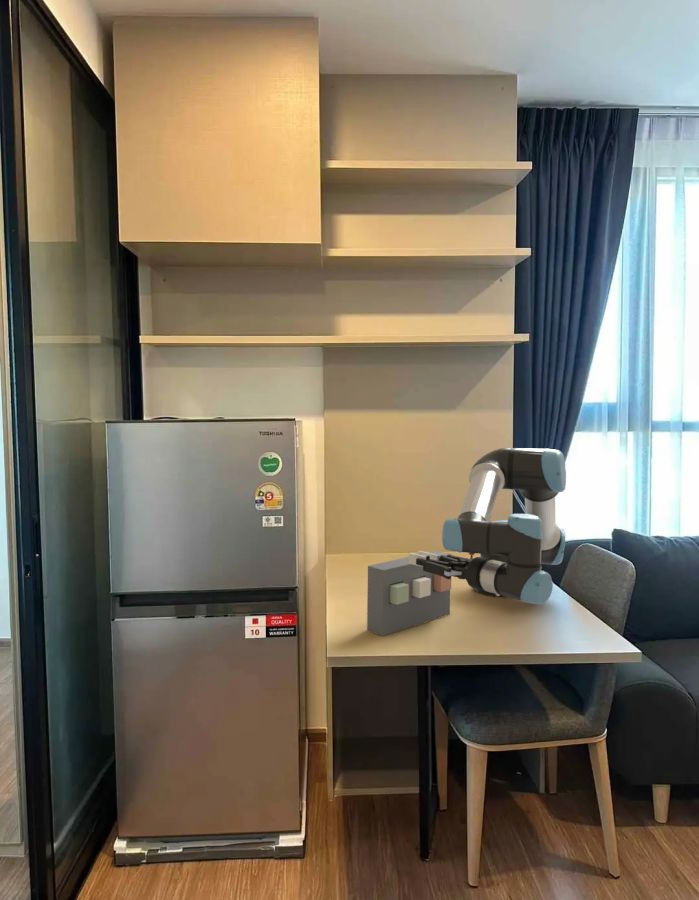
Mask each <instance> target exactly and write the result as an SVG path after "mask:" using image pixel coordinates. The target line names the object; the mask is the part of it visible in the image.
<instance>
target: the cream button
mask: <svg viewBox="0 0 699 900" xmlns="http://www.w3.org/2000/svg"><path fill="white" fill-rule="evenodd" d="M429 595H431V579H429V578H426V577H422V576H421V577H417V578H413V579H412V596H414V597H417V598H422V597H425V596H429Z"/></svg>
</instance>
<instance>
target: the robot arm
mask: <svg viewBox="0 0 699 900" xmlns="http://www.w3.org/2000/svg"><path fill="white" fill-rule="evenodd" d="M470 469H471V470H470V472H469V475H468V482H469V485H468V488H467V491H466V494H465V497H464V499H463V502H462V505H461V507H460V509H459V513H458V515H457V518H456V517H455V518H447V519H445V520H444V522H443V526H442V531H441V533H442V534H441V535H442V536H441V539H442V541H441V543H442V546H443V548H444V549H445V550H447V551H450V552H457V553H461V554H462V553H467V554H469V553H475V554H480V556H477V557H473V559H470V558H467V557H462V556H457V555H453V554H451V555H447V556H444V555H441V556H439V555H436V554H432V553H428V552H429V551H422V550H418V552H417V553H418V554H417V553H413V552H408V557H409V564H413V565H417V566H421V567H423V571H426V572H429V573H432V574H436V575H439V576H442V577H444V578H446V579H451V580H452V577H454V578H457V579H459V580H466V582H467V584H468V586H470V587H471V588H473V589H474V591H475V592H477V593H478V594H480V595H485V596H488V595H489V596H490V597H495V598H496V597H498V598H499V597H500V598H501V597H502V598H505V597H506V598H510V599H513V600H517V601H520V602H522V603H527V604H533V605H537V606H538V605H543V604H545V603H546V602H548V600H549V599H550V598H551V596H552V593H553V585H554V583H553V580H552V576H551V574H550V573H548V572H547V571H545V570H542V565H549V566H552V565H555V566H556V565H560V564H561V563H562V562H563V558H564V551H565V545H566V532H565V530H564V529H563V528H560V527H559V526H558V525H557V523H556V497H557V496H558V494H559V493H562V492H564V491H565V490H566V485H567V484H566V483H567V471H566V460H565V456H564V453H563V452H562V451H561V450H558V449H551V448H548V447H547V448H531V447H530V448H529V447H528V448H527V447H526V448H523V447H521V448H520V447H519V448H518V447H514V448H513V447H501V448H498V449H493V450H492V451H489V452H488V453H485V455H482V456H481V457H480V458H479V459H478V460H477V461H475V463H474V464H473V466H472V467H471V468H470ZM501 490H514V491H515V490H518V491H519V493H520V494H521V496H522V498H524V509H525V513H512V514H510V515H509V516H508V517H507V519H505V520H503V519H501V520H495V521H494V520H493V521H491V517H492V515H493V512H494V511H493V510H494V507H495V503H496V500H497V497H498V493H499V492H500V491H501ZM489 596H488V597H489Z"/></svg>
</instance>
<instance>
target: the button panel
mask: <svg viewBox="0 0 699 900" xmlns="http://www.w3.org/2000/svg"><path fill="white" fill-rule="evenodd" d="M427 552H428V553H432V554H436V555H439V556H441V555H444V556H447V555H452V554H451V553H448V552H447V553H448V554H447V553H446V552H442V551H437V550H434V551H427ZM421 576H422V577H426V578H429V579H431V595H429V596H425V597H422V598H417V597H414V596H412V579H413V578H417V577H421ZM397 582H401V583H405V584H408V585H409V601H408V602H404V603H401V604H398V605H396V604H393V603H390V602H389V585H390V584H394V583H397ZM366 601H367V602H366V603H367V605H366V607H367V611H366V615H367V617H366V630H367V631H368V632H370V633H373V634H376V635H379V636H381V637H384V636H387V635H390V634H394V633H397V632H400V631H403V630H406V629H409V628H412V627H415V626H419V625H421V623H422V624H424V622H425V623H427V621H428V622H431V621H433V619H434V620H436V618H437V619H439V617H440V618H443V617H445V615H446V616H448V614H449V615H450V613H451V589H450V590H446V591H443V592H439V591H435V590H433V574H432V573H429V572H426V571H423V567H421V566H417V565H413V564H409V556H406V557H403V558H398V559H393V560H389V561H384V562H380V563H379V562H378V563H374V564H370V565H368V566H367V600H366ZM442 616H443V617H442ZM430 620H431V621H430ZM418 624H419V625H418Z"/></svg>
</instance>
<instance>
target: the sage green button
mask: <svg viewBox="0 0 699 900" xmlns="http://www.w3.org/2000/svg"><path fill="white" fill-rule="evenodd" d="M408 601H409V585H408V584H405V583H401V582H397V583H394V584H390V585H389V602H390V603H393V604H396V605H398V604H401V603H404V602H408Z"/></svg>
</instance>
